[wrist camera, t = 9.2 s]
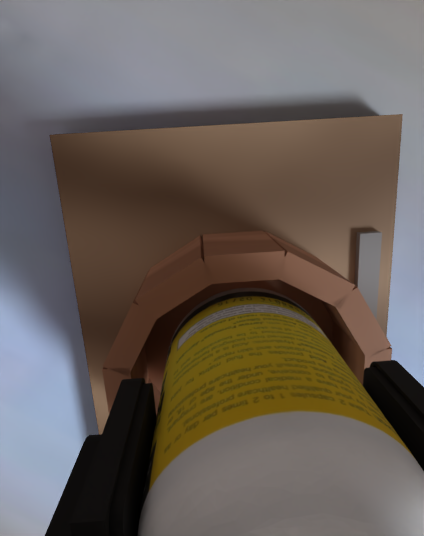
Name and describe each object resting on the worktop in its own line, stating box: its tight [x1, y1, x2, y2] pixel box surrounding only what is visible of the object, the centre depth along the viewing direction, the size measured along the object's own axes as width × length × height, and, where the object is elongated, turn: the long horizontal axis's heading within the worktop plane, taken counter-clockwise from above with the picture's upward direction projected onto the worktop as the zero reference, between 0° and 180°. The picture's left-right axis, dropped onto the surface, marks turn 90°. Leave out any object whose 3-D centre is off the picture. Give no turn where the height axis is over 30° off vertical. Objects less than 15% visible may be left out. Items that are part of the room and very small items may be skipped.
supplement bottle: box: [137, 288, 424, 536], centre depth 8 cm, size 5×5×10 cm
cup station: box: [50, 114, 403, 435], centre depth 13 cm, size 16×12×5 cm
